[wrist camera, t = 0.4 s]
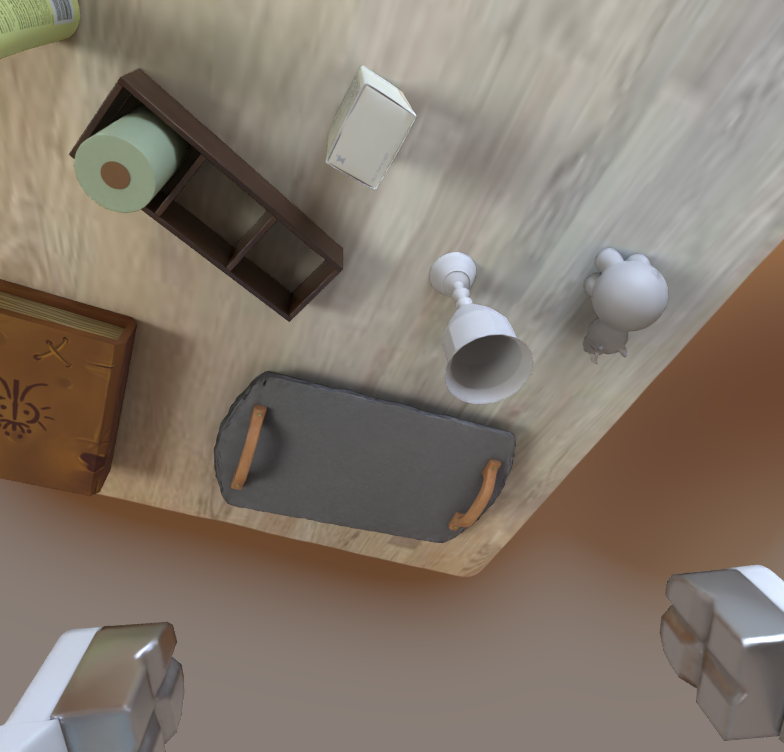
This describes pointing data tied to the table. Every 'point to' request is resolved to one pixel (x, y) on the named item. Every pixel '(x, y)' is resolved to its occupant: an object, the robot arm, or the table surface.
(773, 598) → the robot arm
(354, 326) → the table surface
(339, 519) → the serving tray
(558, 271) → the table surface
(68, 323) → the diary
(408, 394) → the table surface
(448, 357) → the chalice
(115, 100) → the rack
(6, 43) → the tube
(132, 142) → the towel roll
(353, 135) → the cosmetic box
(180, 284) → the table surface
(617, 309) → the round bodied animal figurine
